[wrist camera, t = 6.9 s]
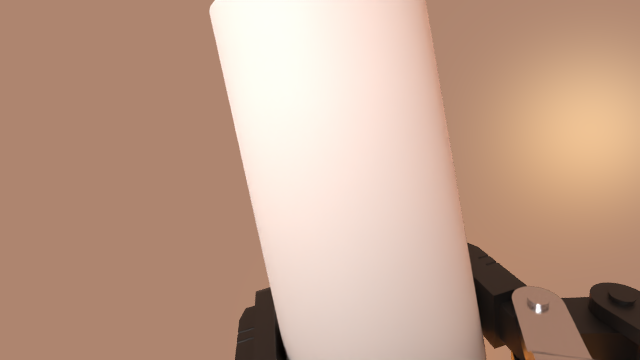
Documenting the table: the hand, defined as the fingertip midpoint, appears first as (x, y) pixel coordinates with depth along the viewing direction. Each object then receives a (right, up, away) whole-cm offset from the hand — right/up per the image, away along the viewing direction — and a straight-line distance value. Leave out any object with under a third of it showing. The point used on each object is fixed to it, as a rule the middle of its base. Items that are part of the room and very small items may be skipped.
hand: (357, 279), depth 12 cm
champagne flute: (+3, -14, +3) cm, 14 cm away
